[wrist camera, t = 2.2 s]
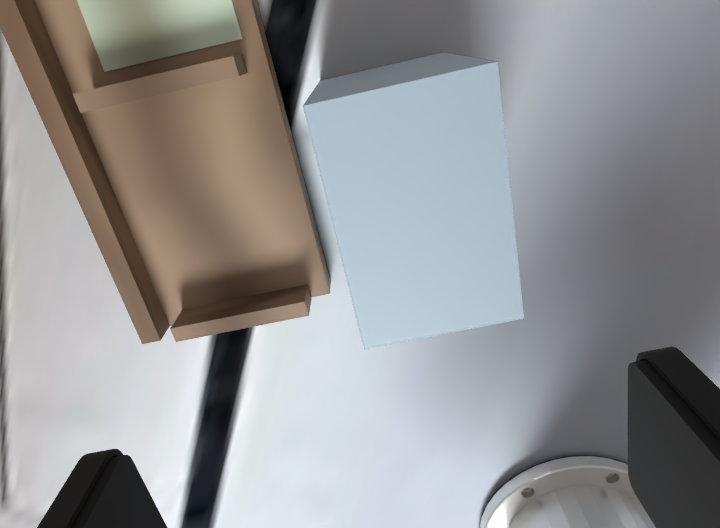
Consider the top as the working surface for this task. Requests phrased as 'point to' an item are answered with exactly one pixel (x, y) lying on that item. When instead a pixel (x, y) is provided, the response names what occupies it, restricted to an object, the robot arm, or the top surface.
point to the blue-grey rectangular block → (419, 195)
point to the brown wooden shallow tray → (176, 156)
